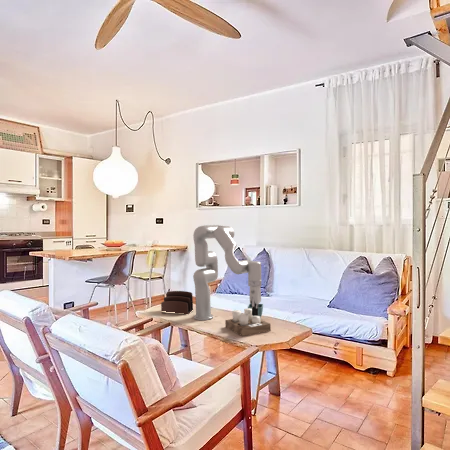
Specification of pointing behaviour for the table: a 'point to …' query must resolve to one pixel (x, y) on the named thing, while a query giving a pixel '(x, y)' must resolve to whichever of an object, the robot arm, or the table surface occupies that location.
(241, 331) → the board
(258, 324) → the card
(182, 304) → the letter holder
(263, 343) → the table surface
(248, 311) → the button
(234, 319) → the button
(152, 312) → the table surface
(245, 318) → the button
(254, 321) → the button
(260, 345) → the table surface
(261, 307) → the flower pot
